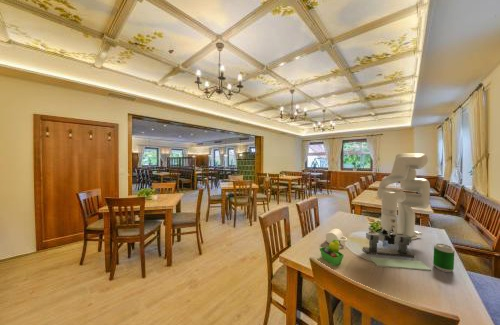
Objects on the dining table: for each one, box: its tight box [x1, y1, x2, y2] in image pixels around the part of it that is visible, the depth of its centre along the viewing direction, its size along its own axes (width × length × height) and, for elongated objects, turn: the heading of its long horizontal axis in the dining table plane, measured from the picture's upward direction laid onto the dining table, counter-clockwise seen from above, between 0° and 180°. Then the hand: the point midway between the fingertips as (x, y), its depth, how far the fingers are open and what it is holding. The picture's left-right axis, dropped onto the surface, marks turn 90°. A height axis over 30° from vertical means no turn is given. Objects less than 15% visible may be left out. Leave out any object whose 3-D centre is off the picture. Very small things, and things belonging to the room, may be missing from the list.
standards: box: [362, 231, 415, 258], centre depth 118 cm, size 25×6×11 cm, turn 81°
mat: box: [370, 256, 432, 272], centre depth 106 cm, size 25×8×1 cm, turn 81°
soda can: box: [432, 243, 455, 273], centre depth 102 cm, size 8×8×12 cm
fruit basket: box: [319, 239, 345, 266], centre depth 109 cm, size 11×9×11 cm
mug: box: [325, 228, 348, 245], centre depth 131 cm, size 12×10×8 cm
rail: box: [365, 232, 412, 243], centre depth 118 cm, size 23×3×3 cm, turn 81°
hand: (387, 241), depth 118 cm, fingers open, 6 cm apart
